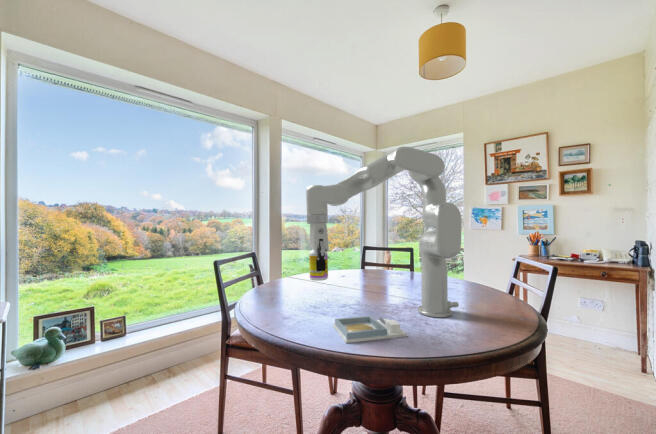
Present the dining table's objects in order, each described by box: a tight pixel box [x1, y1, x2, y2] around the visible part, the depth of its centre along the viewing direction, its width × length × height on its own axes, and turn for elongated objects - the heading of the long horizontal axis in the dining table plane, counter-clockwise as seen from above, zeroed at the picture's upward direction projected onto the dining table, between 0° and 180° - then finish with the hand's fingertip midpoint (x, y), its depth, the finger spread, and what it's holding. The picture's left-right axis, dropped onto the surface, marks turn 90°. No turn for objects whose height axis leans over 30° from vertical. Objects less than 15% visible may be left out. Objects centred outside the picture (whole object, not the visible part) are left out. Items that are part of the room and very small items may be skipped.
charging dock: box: [332, 315, 408, 344], centre depth 95 cm, size 20×14×3 cm
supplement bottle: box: [308, 247, 329, 282], centre depth 105 cm, size 7×7×13 cm
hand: (318, 268), depth 105 cm, fingers closed on supplement bottle, 6 cm apart
